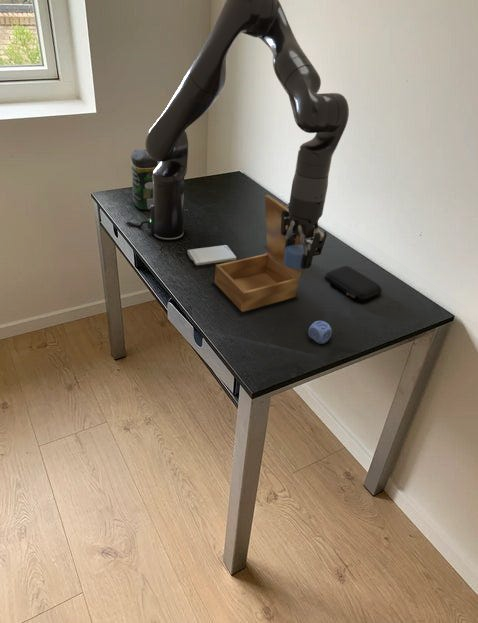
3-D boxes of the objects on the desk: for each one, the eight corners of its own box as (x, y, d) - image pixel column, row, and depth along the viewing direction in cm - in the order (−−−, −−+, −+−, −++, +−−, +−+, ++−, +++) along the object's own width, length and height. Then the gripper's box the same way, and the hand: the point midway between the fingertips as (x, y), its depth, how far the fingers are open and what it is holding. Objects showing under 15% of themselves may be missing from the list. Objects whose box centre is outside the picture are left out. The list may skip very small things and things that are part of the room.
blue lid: (281, 266, 112) (283, 253, 110) (285, 254, 117) (287, 241, 115) (306, 271, 111) (309, 258, 109) (310, 259, 116) (312, 246, 114)
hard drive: (226, 244, 147) (187, 248, 142) (236, 257, 141) (196, 262, 136) (226, 249, 147) (187, 253, 143) (236, 262, 142) (196, 267, 137)
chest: (241, 314, 121) (244, 293, 117) (214, 285, 131) (215, 264, 127) (295, 299, 128) (298, 279, 125) (265, 272, 138) (268, 253, 134)
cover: (298, 218, 113) (316, 212, 115) (265, 195, 123) (281, 189, 124) (297, 278, 124) (313, 271, 126) (267, 252, 134) (281, 246, 136)
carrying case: (318, 280, 137) (357, 306, 128) (320, 271, 135) (360, 297, 126) (344, 271, 142) (383, 295, 133) (346, 262, 141) (386, 286, 132)
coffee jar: (130, 201, 170) (127, 148, 159) (151, 198, 173) (150, 146, 162) (139, 212, 163) (137, 158, 152) (161, 209, 166) (160, 156, 155)
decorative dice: (317, 331, 118) (320, 318, 115) (330, 340, 115) (333, 326, 113) (306, 337, 115) (309, 324, 113) (319, 346, 113) (322, 332, 111)
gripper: (275, 183, 107) (266, 250, 117) (315, 208, 97) (302, 279, 107) (302, 179, 110) (291, 244, 120) (343, 203, 101) (328, 272, 110)
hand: (296, 260), depth 113 cm, fingers closed on blue lid, 6 cm apart
